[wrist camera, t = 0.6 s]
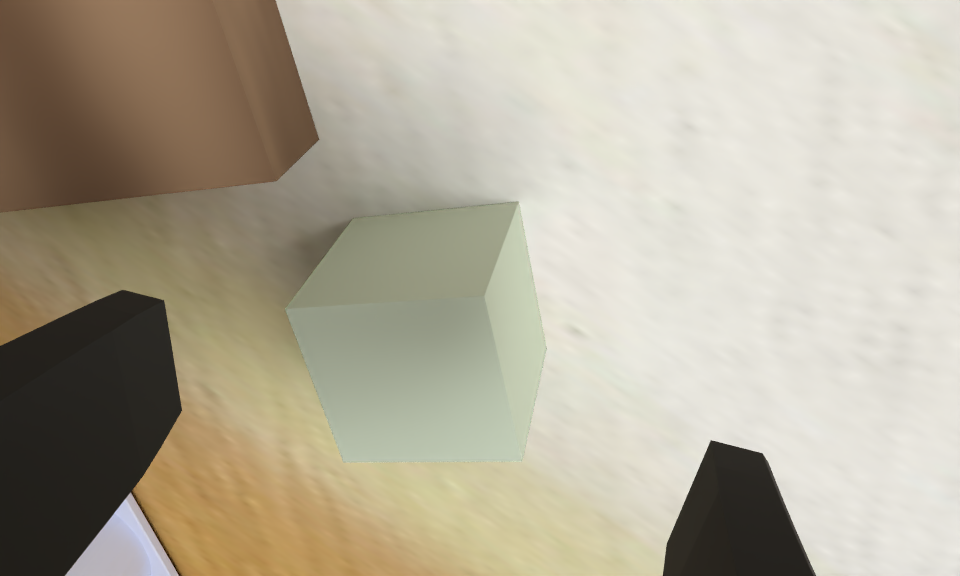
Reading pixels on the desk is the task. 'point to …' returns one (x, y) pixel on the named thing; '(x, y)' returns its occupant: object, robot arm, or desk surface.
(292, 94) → the walnut block
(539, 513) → the desk surface
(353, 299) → the sage block
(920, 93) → the desk surface
